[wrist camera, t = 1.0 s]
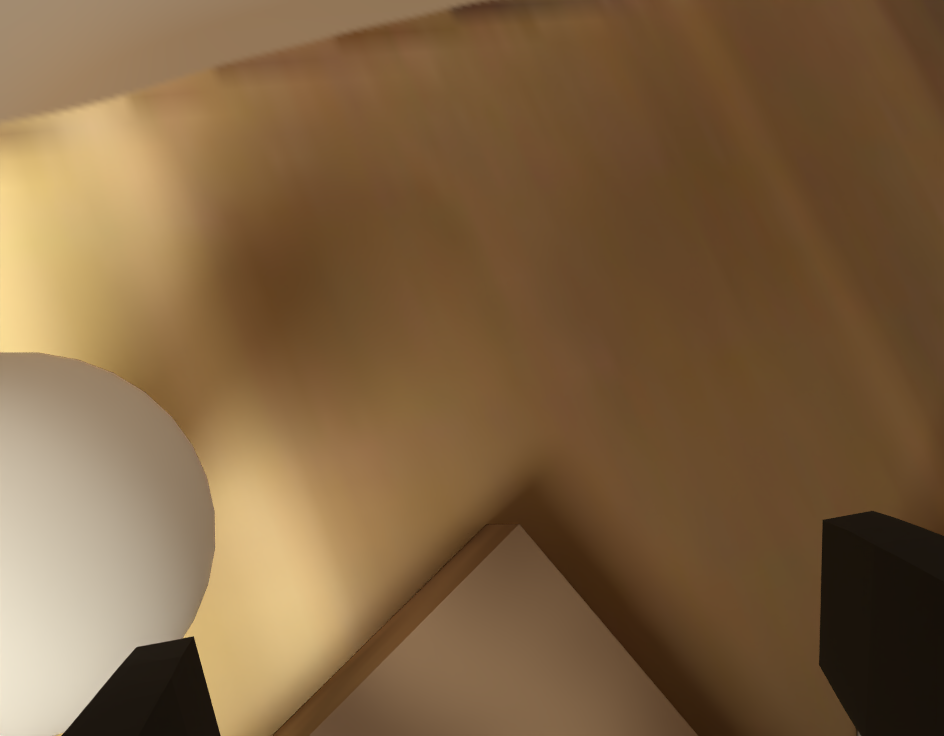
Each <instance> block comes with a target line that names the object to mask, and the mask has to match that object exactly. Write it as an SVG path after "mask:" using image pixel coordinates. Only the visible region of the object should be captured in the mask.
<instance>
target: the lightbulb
mask: <svg viewBox="0 0 944 736" xmlns="http://www.w3.org/2000/svg"><path fill="white" fill-rule="evenodd" d="M214 551H215V512H214V507H213V503H212V498H211V494H210V489H209V484H208V480H207V476H206V474H205V472H204V470H203V468H202V465H201V463H200V461H199V459H198V456H197V454H196V452H195V450H194V447H193V445H192V444H191V443H190V441H189V440H188V438H187V437H186V436H185V434H184V433H183V432H182V430H181V429H180V427H179V426H178V425H177V423H176V422H175V420H174V419H173V418H172V416H170V415H169V414H168V413H167V412H166V411H165V410H164V409H163V408H162V407H161V406H160V405H158V404H157V403H156V402H155V401H154V400H153V399H152V398H151V397H150V396H149V395H148V394H146V393H145V392H144V391H142V390H141V389H139V388H137V387H136V386H134V385H132V384H131V383H129V382H127V381H126V380H124V379H122V378H121V377H119V376H118V375H116V374H114V373H112V372H109V371H107V370H104V369H101V368H99V367H96V366H93V365H91V364H88V363H85V362H83V361H80V360H77V359H71V358H66V357H60V356H55V355H49V354H44V353H0V736H54V735H57V734H60V733H63V732H65V731H66V730H67V729H68V728H69V726H70V725H71V724H72V723H73V722H74V720H75V719H76V718H77V717H78V716H79V714H80V713H81V712H82V711H83V710H84V708H85V707H86V706H87V705H88V704H89V702H90V701H91V700H92V699H93V698H94V696H95V695H96V694H97V693H98V691H99V690H100V689H101V688H102V687H103V685H104V684H105V683H106V682H107V681H108V679H109V678H110V677H111V676H112V675H113V673H114V672H115V671H116V670H117V669H118V667H119V666H120V665H121V664H122V663H123V662H124V660H125V659H126V658H127V657H128V656H129V655H130V654H131V653H132V651H133V650H134V649H135V648H136V647H139V646H145V645H150V644H156V643H161V642H166V641H172V640H177V639H182V638H183V637H184V635H185V633H186V632H187V630H188V629H189V627H190V625H191V624H192V622H193V621H194V619H195V616H196V614H197V611H198V609H199V606H200V604H201V601H202V599H203V596H204V594H205V591H206V588H207V586H208V582H209V577H210V572H211V567H212V561H213V556H214Z"/></svg>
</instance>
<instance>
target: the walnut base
mask: <svg viewBox="0 0 944 736" xmlns="http://www.w3.org/2000/svg"><path fill="white" fill-rule="evenodd" d="M273 736H698V735H697V734H696V733H695V732H694V730H693V729H692V728H691V727H690V726H689V724H688V723H687V722H686V721H685V720H684V719H683V717H682V716H681V715H680V714H679V713H678V711H677V710H676V709H675V708H674V707H673V705H672V704H671V703H670V702H669V701H668V700H667V698H666V697H665V696H664V695H663V694H662V692H661V691H660V690H659V689H658V688H657V687H656V685H655V684H654V683H653V682H652V681H651V679H650V678H649V677H648V676H647V675H646V674H645V672H644V671H643V670H642V669H641V668H640V666H639V665H638V664H637V663H636V662H635V661H634V659H633V658H632V657H631V656H630V655H629V653H628V652H627V651H626V650H625V649H624V647H623V646H622V645H621V644H620V643H619V642H618V640H617V639H616V638H615V637H614V636H613V634H612V633H611V632H610V631H609V630H608V629H607V627H606V626H605V625H604V624H603V623H602V621H601V620H600V619H599V618H598V617H597V616H596V614H595V613H594V612H593V611H592V610H591V608H590V607H589V606H588V605H587V604H586V603H585V601H584V600H583V599H582V598H581V597H580V595H579V594H578V593H577V592H576V591H575V589H574V588H573V587H572V586H571V585H570V584H569V582H568V581H567V580H566V579H565V578H564V576H563V575H562V574H561V573H560V572H559V571H558V569H557V568H556V567H555V566H554V565H553V563H552V562H551V561H550V560H549V559H548V558H547V556H546V555H545V554H544V553H543V552H542V550H541V549H540V548H539V547H538V546H537V545H536V543H535V542H534V541H533V540H532V539H531V537H530V536H529V535H528V534H527V533H526V531H525V530H524V529H523V528H522V527H521V526H520V524H488V525H485V526H484V527H483V528H482V529H481V530H480V531H479V532H478V533H477V534H476V535H475V536H474V537H473V538H472V539H471V540H470V541H469V542H468V543H467V544H466V545H465V546H464V547H463V548H462V549H461V550H460V551H459V552H458V553H457V554H456V555H455V556H454V557H453V558H452V559H451V560H450V561H449V562H448V563H447V564H446V565H445V566H444V567H443V568H442V569H441V570H440V571H439V572H438V573H437V574H436V575H435V576H434V577H433V578H432V579H431V580H430V581H429V582H428V583H427V584H426V585H425V586H424V587H423V588H422V589H421V590H420V591H419V592H418V593H417V594H416V595H415V596H414V597H413V598H411V599H410V600H409V601H408V602H407V603H406V604H405V605H404V606H403V607H402V608H401V609H400V610H399V611H398V612H397V613H396V614H395V615H394V616H393V617H392V618H391V619H390V620H389V621H388V622H387V623H386V624H385V625H384V626H383V627H382V628H381V629H380V630H379V631H378V632H377V633H376V634H375V635H374V636H373V637H372V638H371V639H370V640H369V641H368V642H367V643H366V644H365V645H364V646H363V647H362V648H361V649H360V650H359V651H358V652H357V653H356V654H355V655H354V656H353V657H352V658H351V659H350V660H349V661H348V662H347V663H346V664H345V665H344V666H343V667H342V668H341V669H340V670H339V671H338V672H337V673H336V674H335V675H334V676H332V677H331V678H330V679H329V680H328V681H327V682H326V683H325V684H324V685H323V686H322V687H321V688H320V689H319V690H318V691H317V692H316V693H315V694H314V695H313V696H312V697H311V698H310V699H309V700H308V701H307V702H306V703H305V704H304V705H303V706H302V707H301V708H300V709H299V710H298V711H297V712H296V713H295V714H294V715H293V716H292V717H291V718H290V719H289V720H288V721H287V722H286V723H285V724H284V725H283V726H282V727H281V728H280V729H279V730H278V731H277V732H276V733H275V734H274V735H273Z"/></svg>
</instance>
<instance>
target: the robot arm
mask: <svg viewBox="0 0 944 736" xmlns="http://www.w3.org/2000/svg"><path fill="white" fill-rule="evenodd" d="M819 665H820V667H821V669H822V671H823V672H824V674H825V676H826V678H827V679H828V681H829V683H830V685H831V686H832V688H833V690H834V692H835V693H836V695H837V697H838V699H839V700H840V702H841V704H842V706H843V707H844V709H845V711H846V712H847V714H848V716H849V717H850V719H851V720H852V722H853V724H854V725H855V727H856V729H857V730H858V732H859V734H860V735H861V736H944V536H942V535H939V534H937V533H934V532H932V531H929V530H926V529H924V528H921V527H919V526H916V525H913V524H911V523H908V522H905V521H902V520H899V519H896V518H894V517H891V516H887V515H884V514H881V513H878V512H874V511H869V512H864V513H858V514H853V515H848V516H842V517H837V518H831V519H826V520H823V533H822V573H821V614H820V654H819ZM62 736H220V732H219V729H218V725H217V721H216V717H215V714H214V710H213V706H212V703H211V699H210V695H209V691H208V688H207V684H206V680H205V677H204V673H203V669H202V666H201V662H200V658H199V654H198V651H197V647H196V643H195V640H194V636H193V637H188V638H183V639H177V640H172V641H166V642H161V643H156V644H150V645H145V646H139V647H136V648H135V649H134V650H133V651H132V653H131V654H130V655H129V656H128V657H127V658H126V659H125V660H124V662H123V663H122V664H121V665H120V666H119V667H118V669H117V670H116V671H115V672H114V673H113V675H112V676H111V677H110V678H109V679H108V681H107V682H106V683H105V684H104V685H103V687H102V688H101V689H100V690H99V691H98V693H97V694H96V695H95V696H94V698H93V699H92V700H91V701H90V702H89V704H88V705H87V706H86V707H85V708H84V710H83V711H82V712H81V713H80V714H79V716H78V717H77V718H76V719H75V720H74V722H73V723H72V724H71V725H70V726H69V728H68V729H67V730H66V731H65V732H64V733H63V735H62Z"/></svg>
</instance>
